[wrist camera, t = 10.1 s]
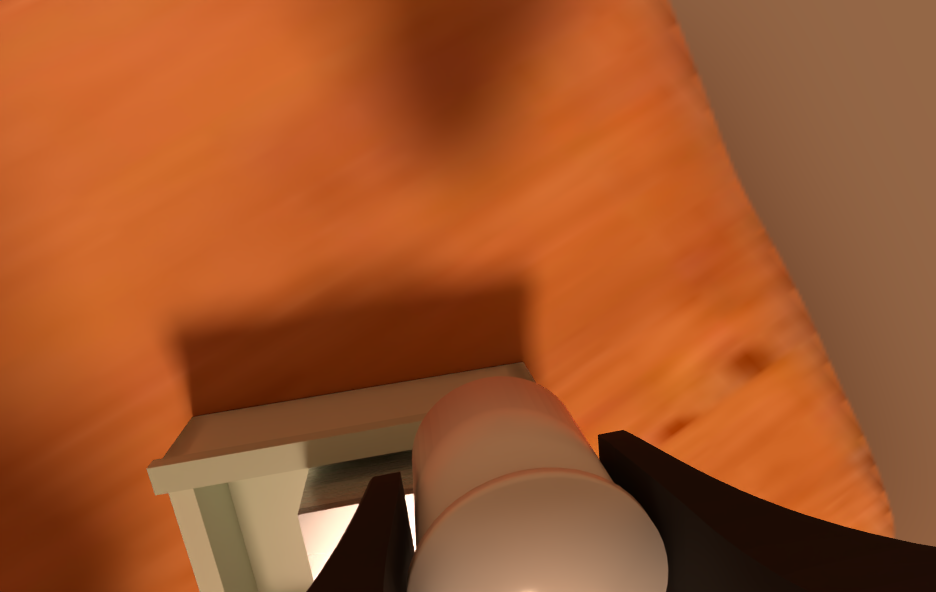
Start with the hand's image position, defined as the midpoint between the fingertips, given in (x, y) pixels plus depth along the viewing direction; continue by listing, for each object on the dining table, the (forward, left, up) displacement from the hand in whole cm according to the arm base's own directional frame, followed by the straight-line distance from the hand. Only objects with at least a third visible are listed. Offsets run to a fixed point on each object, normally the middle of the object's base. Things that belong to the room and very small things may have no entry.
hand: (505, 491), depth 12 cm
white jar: (0, 0, -2) cm, 2 cm away
